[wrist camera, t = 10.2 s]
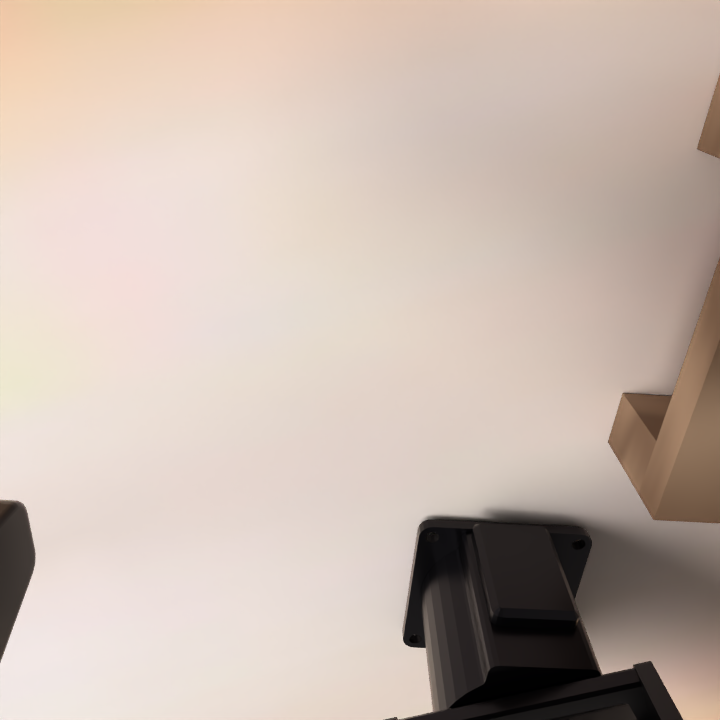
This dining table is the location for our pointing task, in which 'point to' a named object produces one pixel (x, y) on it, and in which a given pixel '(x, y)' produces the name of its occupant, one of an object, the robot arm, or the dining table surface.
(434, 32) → the dining table surface
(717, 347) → the walnut stand
